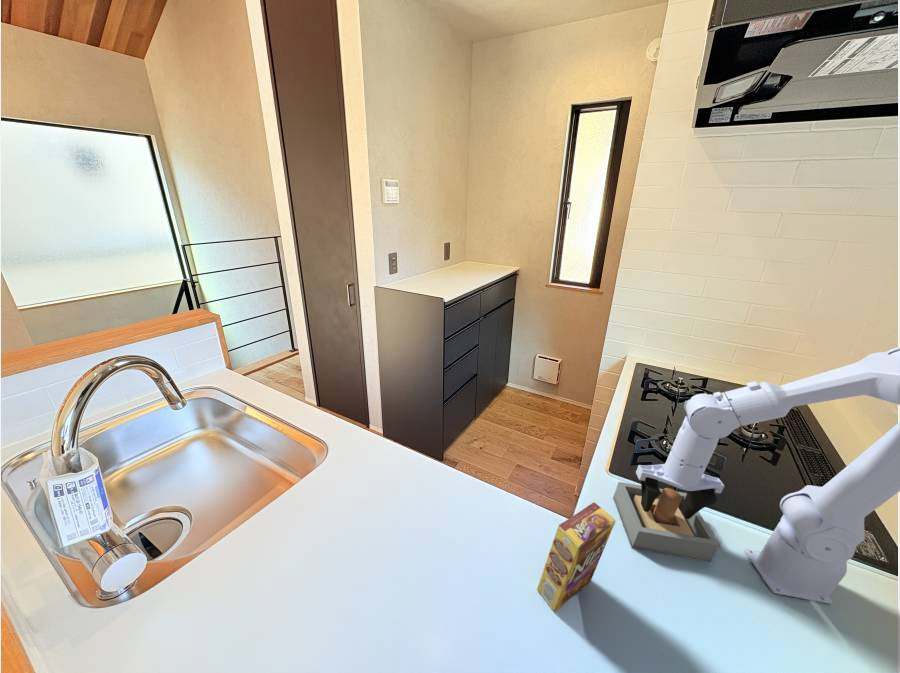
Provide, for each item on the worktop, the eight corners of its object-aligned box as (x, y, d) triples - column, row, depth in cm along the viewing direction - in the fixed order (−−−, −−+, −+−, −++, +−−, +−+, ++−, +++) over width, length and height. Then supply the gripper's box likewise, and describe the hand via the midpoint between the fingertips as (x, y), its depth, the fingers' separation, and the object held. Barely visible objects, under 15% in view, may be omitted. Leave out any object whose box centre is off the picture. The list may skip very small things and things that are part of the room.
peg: (663, 519, 72) (676, 489, 69) (670, 532, 69) (684, 502, 66) (647, 516, 72) (659, 486, 69) (653, 530, 69) (667, 499, 66)
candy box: (556, 616, 54) (579, 547, 48) (535, 590, 57) (555, 523, 52) (592, 585, 59) (617, 519, 53) (571, 563, 62) (592, 499, 56)
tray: (680, 508, 76) (687, 493, 74) (710, 562, 65) (719, 545, 63) (613, 497, 77) (618, 481, 75) (631, 548, 66) (638, 531, 64)
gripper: (718, 448, 67) (693, 501, 72) (639, 436, 68) (620, 489, 74) (741, 475, 61) (712, 531, 66) (654, 461, 62) (631, 517, 67)
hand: (664, 511), depth 69 cm, fingers open, 7 cm apart
